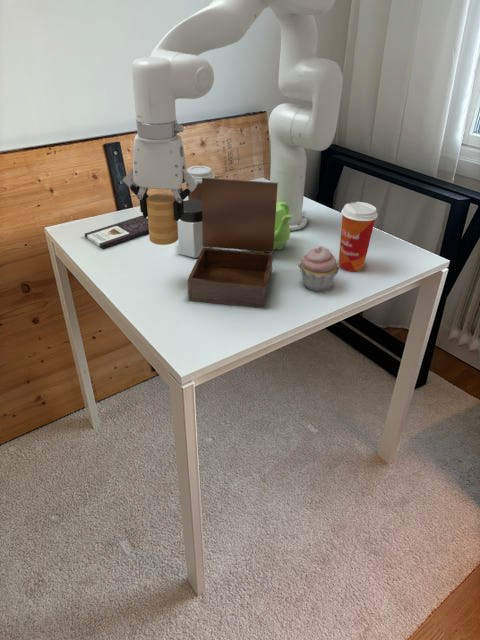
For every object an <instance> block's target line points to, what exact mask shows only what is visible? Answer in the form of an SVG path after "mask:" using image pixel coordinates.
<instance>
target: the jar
mask: <svg viewBox="0 0 480 640" xmlns="http://www.w3.org/2000/svg"><path fill="white" fill-rule="evenodd" d="M183 205H184V214H183V216H181V218H180V219H179V221H177V223H178V240H177V242H178V254H179V255H181V256H185V257H188V258H189V257H190V258H192V259H196V258H197V259H198V257H199V255H200V253H201V251H202V249H203V248H211V247H204V246H203V232H202V200H188V199H186V200H183Z"/></svg>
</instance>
